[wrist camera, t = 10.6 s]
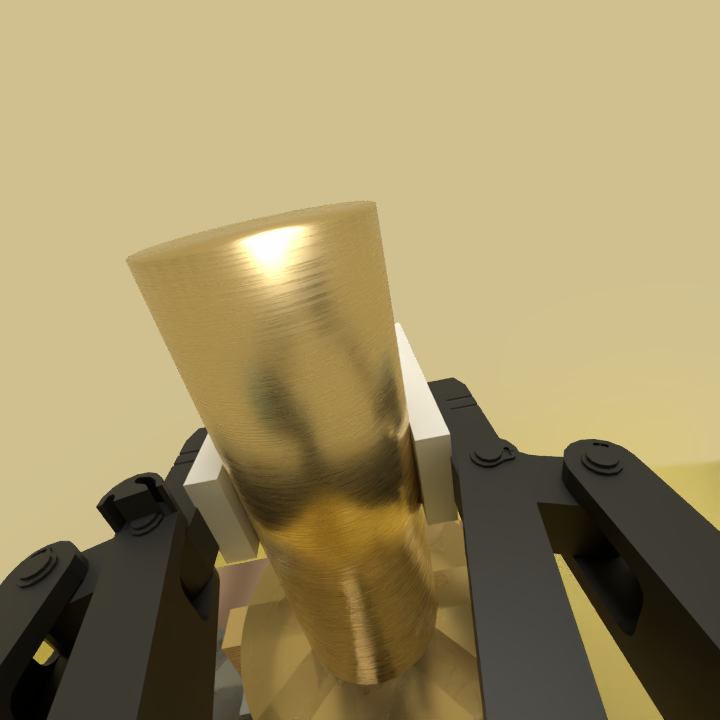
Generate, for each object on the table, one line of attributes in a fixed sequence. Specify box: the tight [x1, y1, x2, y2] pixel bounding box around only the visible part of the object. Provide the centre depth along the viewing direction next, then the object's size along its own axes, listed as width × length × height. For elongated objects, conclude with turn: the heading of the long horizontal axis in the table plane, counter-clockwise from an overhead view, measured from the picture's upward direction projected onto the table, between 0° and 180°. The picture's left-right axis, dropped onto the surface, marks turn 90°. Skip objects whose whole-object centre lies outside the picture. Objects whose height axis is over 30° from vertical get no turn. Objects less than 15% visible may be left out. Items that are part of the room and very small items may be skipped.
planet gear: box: [126, 201, 483, 720], centre depth 10 cm, size 10×10×14 cm
